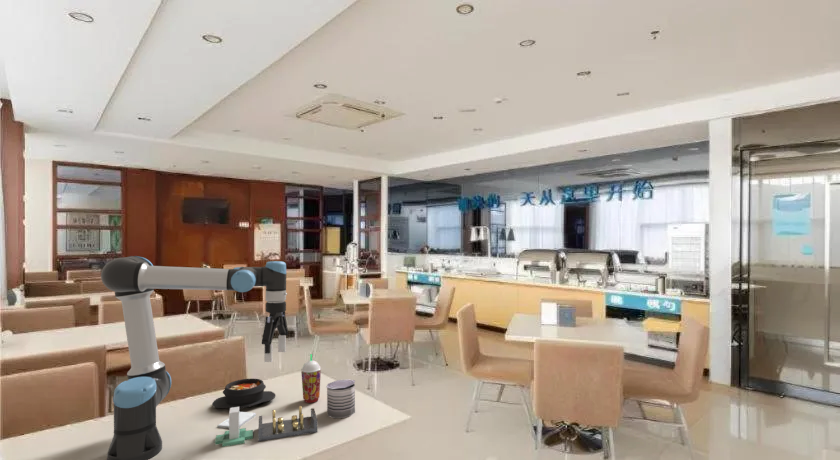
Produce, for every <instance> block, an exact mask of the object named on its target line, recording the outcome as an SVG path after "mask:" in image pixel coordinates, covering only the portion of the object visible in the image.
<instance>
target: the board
mask: <svg viewBox="0 0 840 460" xmlns="http://www.w3.org/2000/svg"><path fill="white" fill-rule="evenodd" d="M239 412H240V409H239V407H233V408H229V413H228V418H229V428H228V430H224V433H222V434H217V435H216V437H215V440H214V445H215V446H216V445H222V446H221V447H223V448H224V447H231V446H236V445H242V444H245V443H246V441H247V440H253V439H254V430H253V429H247V428H246V427H244V428H240V427H239Z"/></svg>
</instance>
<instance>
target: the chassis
mask: <svg viewBox="0 0 840 460" xmlns="http://www.w3.org/2000/svg"><path fill="white" fill-rule="evenodd" d="M302 409H303V407H302V406H301V405H299V406H298V415H291V419H284V417H283V416H281V417H280V416H279V417H277V418H276V410H275V409H273V410H272V411H271V412H272V421H271V422H265V423H263V415H259V416H258V442H264V441H271V440H277V439H283V438H288V437H289V438H290V437H295V436H302V435H307V434H314V433H318V417H317V414H316V411H315V408H314V407H313V408H311V409H310V416H306V417H304V413H302V412H303V411H302Z"/></svg>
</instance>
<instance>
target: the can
mask: <svg viewBox="0 0 840 460" xmlns="http://www.w3.org/2000/svg"><path fill="white" fill-rule="evenodd" d="M355 382H356V380H354V379H349V378H346V379H337V380H334V381H332V382H329V383H327V384H326V390H327V391H326V406H327V407H326V409H327V410H326V413H327V417H330V418H333V419H344V418H349V417H351V416H353V414H355V413H356V385H355Z"/></svg>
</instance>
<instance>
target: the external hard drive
mask: <svg viewBox="0 0 840 460" xmlns="http://www.w3.org/2000/svg"><path fill="white" fill-rule="evenodd" d="M256 416H257V413H255V412H249V411H239V428H241V427H242V426H243V425H245V424H247V423H248V422H249V421H250V420H252V419H254V418H255V417H256ZM216 427H217V428H218V429H219V428H220V429H229V417H228V418H226V419H225V420H224V421H222V422H220V423H219V424H217V426H216Z"/></svg>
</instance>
